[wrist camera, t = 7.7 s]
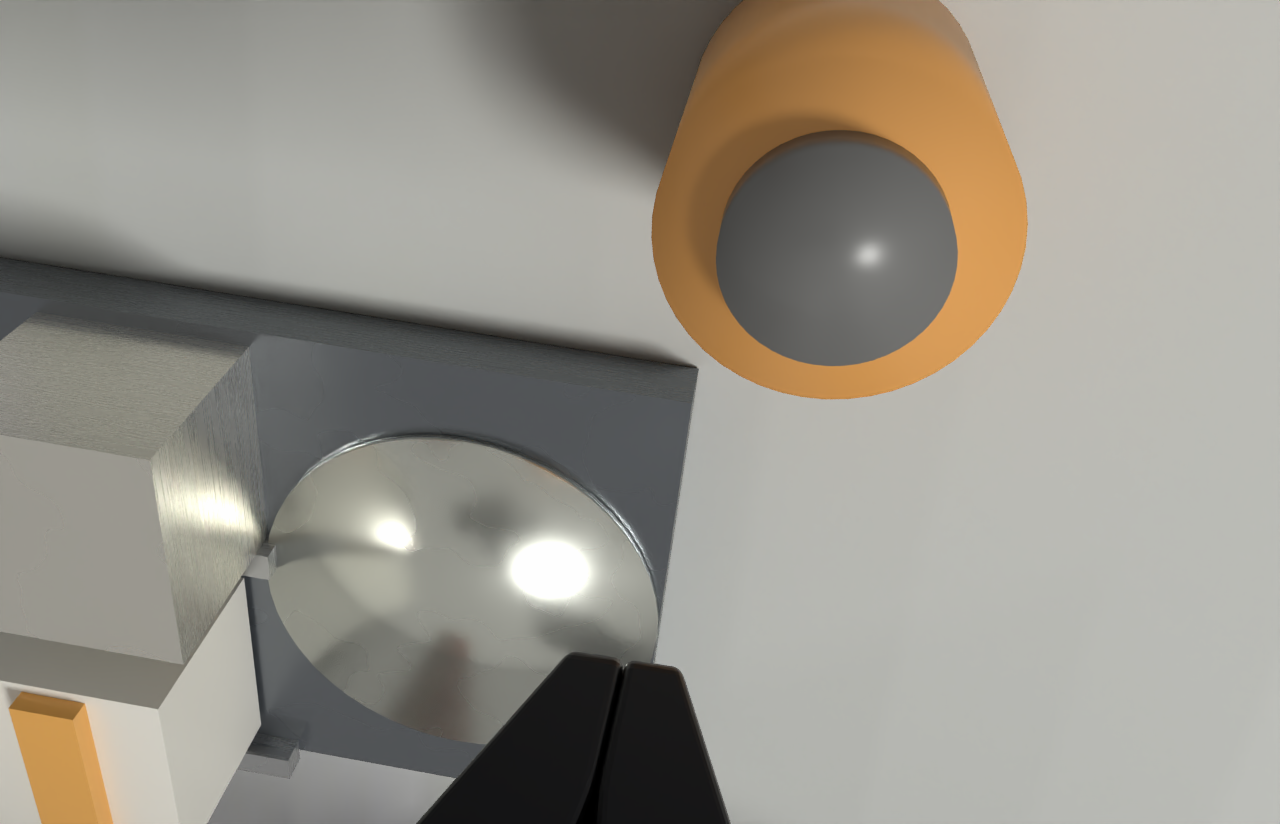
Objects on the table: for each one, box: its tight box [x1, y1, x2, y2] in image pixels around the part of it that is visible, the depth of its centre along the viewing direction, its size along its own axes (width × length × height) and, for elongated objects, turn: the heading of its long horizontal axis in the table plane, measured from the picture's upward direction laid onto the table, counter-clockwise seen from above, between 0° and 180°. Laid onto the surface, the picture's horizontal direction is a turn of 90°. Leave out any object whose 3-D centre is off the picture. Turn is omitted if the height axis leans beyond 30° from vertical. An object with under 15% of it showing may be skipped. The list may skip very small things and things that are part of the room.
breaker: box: [0, 577, 261, 824], centre depth 23 cm, size 4×4×4 cm
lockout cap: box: [652, 0, 1028, 399], centre depth 16 cm, size 4×4×6 cm
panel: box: [0, 258, 699, 779], centre depth 23 cm, size 22×11×5 cm, turn 84°
